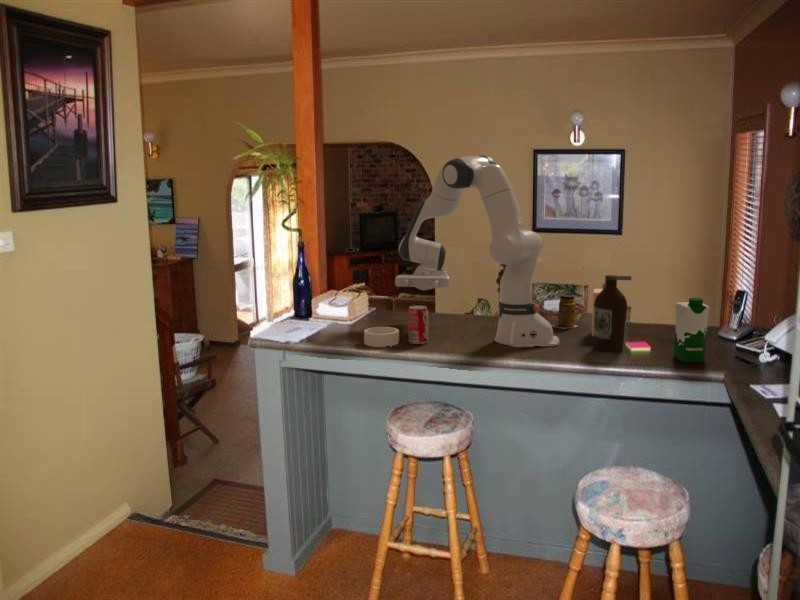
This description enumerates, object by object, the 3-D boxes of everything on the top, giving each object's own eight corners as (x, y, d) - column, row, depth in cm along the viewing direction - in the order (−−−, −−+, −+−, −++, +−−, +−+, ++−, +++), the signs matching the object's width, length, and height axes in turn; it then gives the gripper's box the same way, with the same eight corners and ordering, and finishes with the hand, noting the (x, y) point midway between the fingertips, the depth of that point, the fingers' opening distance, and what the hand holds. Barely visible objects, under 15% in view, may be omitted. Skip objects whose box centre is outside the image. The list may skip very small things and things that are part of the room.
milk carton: (681, 363, 222) (685, 300, 218) (669, 355, 230) (673, 295, 227) (708, 362, 222) (713, 300, 218) (695, 355, 231) (700, 295, 227)
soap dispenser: (591, 336, 257) (594, 276, 253) (592, 331, 265) (594, 273, 261) (628, 338, 254) (631, 277, 250) (628, 333, 262) (631, 274, 258)
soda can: (426, 345, 247) (426, 309, 244) (406, 345, 248) (406, 308, 246) (430, 340, 254) (429, 305, 251) (410, 340, 255) (410, 304, 253)
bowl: (400, 339, 257) (400, 326, 256) (396, 347, 245) (396, 334, 244) (367, 338, 258) (367, 326, 257) (362, 346, 246) (361, 334, 245)
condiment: (579, 326, 274) (580, 295, 271) (564, 329, 269) (565, 298, 266) (564, 323, 279) (565, 293, 277) (549, 326, 274) (550, 295, 272)
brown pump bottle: (605, 342, 248) (608, 272, 243) (631, 348, 239) (635, 275, 235) (585, 347, 242) (588, 275, 237) (611, 354, 233) (615, 279, 228)
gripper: (397, 269, 273) (392, 275, 260) (450, 270, 271) (448, 276, 257) (397, 285, 274) (392, 292, 261) (449, 286, 272) (448, 293, 259)
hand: (420, 284), depth 259 cm, fingers open, 8 cm apart
